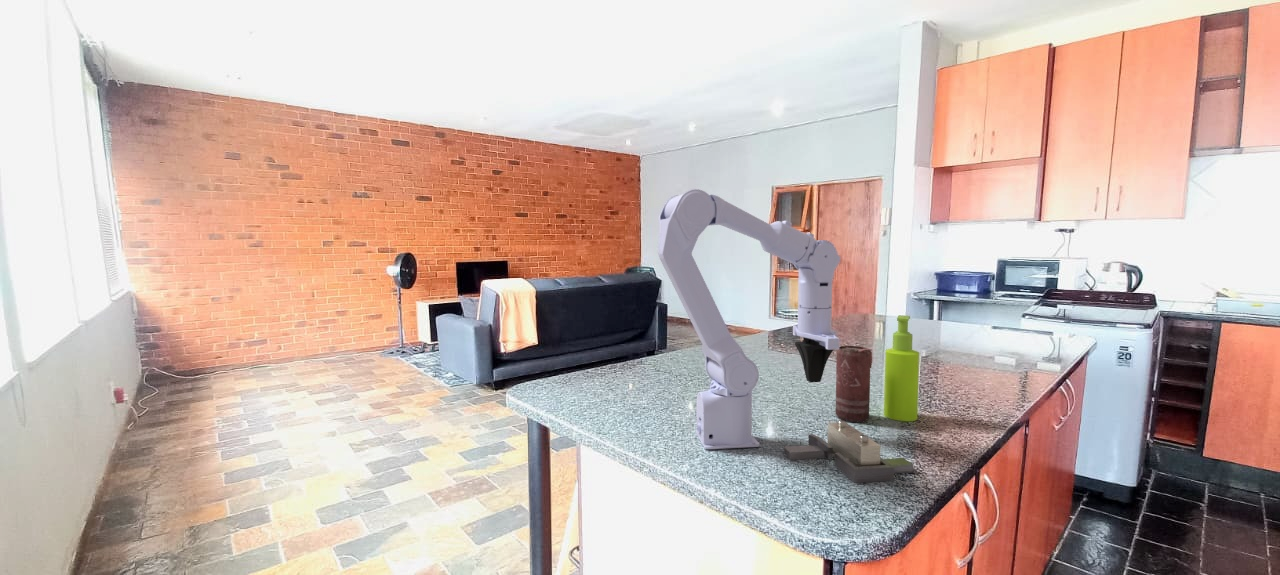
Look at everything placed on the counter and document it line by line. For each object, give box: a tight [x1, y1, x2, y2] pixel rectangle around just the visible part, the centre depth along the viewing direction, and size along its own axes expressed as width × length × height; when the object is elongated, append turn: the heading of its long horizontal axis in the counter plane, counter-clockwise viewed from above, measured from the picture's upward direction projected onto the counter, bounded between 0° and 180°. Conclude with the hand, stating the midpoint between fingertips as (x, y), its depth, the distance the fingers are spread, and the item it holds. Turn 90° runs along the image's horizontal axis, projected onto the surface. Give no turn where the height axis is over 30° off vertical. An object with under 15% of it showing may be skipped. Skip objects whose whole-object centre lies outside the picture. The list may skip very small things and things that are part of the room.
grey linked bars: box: [783, 433, 914, 484], centre depth 78 cm, size 16×14×2 cm
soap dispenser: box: [883, 314, 920, 422], centre depth 98 cm, size 6×7×20 cm
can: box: [835, 345, 873, 424], centre depth 97 cm, size 6×6×14 cm
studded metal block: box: [827, 419, 882, 467], centre depth 77 cm, size 3×10×6 cm, turn 6°
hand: (813, 381), depth 90 cm, fingers closed
